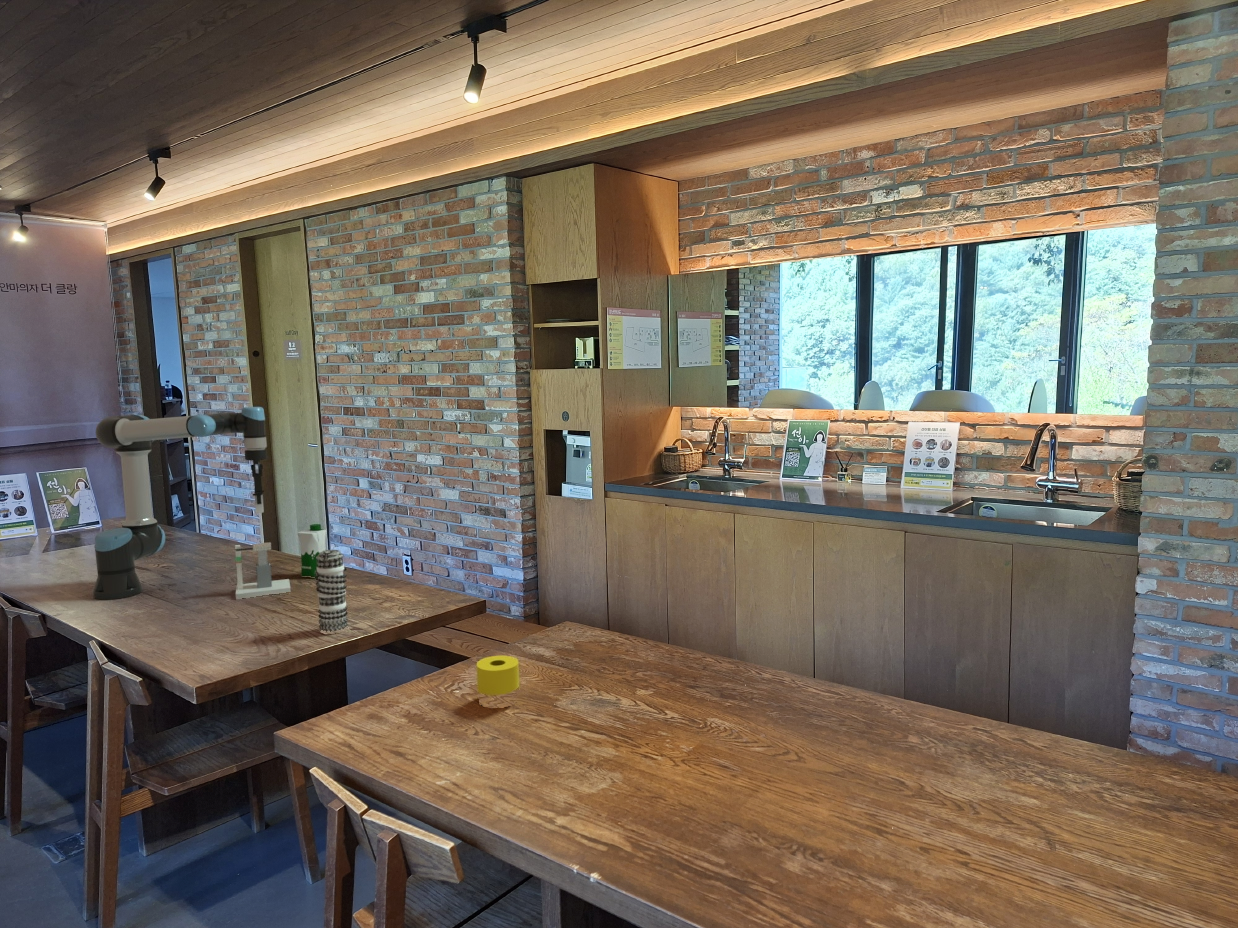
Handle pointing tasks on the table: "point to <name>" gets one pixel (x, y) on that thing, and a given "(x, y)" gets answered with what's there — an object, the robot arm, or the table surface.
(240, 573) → the stand
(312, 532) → the milk carton
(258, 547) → the square paddle
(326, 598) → the decorative candle
